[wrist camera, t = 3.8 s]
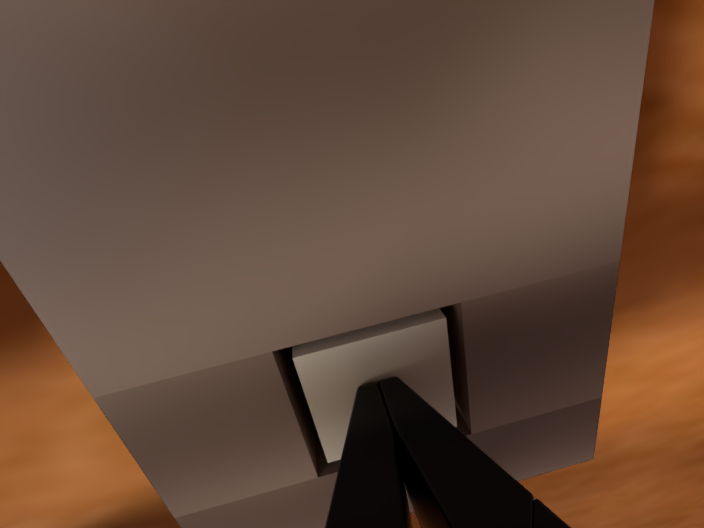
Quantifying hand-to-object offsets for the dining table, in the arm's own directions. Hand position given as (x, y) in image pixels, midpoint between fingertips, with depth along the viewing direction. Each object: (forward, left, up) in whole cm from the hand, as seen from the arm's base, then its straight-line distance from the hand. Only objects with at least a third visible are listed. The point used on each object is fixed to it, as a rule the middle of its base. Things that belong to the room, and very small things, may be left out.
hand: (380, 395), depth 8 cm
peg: (0, 0, -4) cm, 5 cm away
